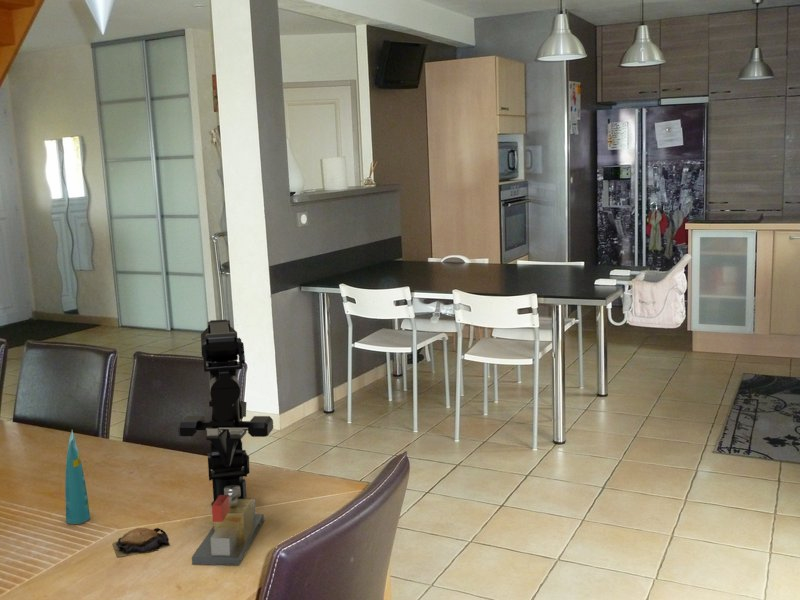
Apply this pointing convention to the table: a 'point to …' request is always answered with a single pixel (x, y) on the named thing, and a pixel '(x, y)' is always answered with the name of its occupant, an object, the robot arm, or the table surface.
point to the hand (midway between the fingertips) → (228, 465)
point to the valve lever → (224, 502)
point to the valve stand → (230, 535)
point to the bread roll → (140, 542)
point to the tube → (75, 486)
